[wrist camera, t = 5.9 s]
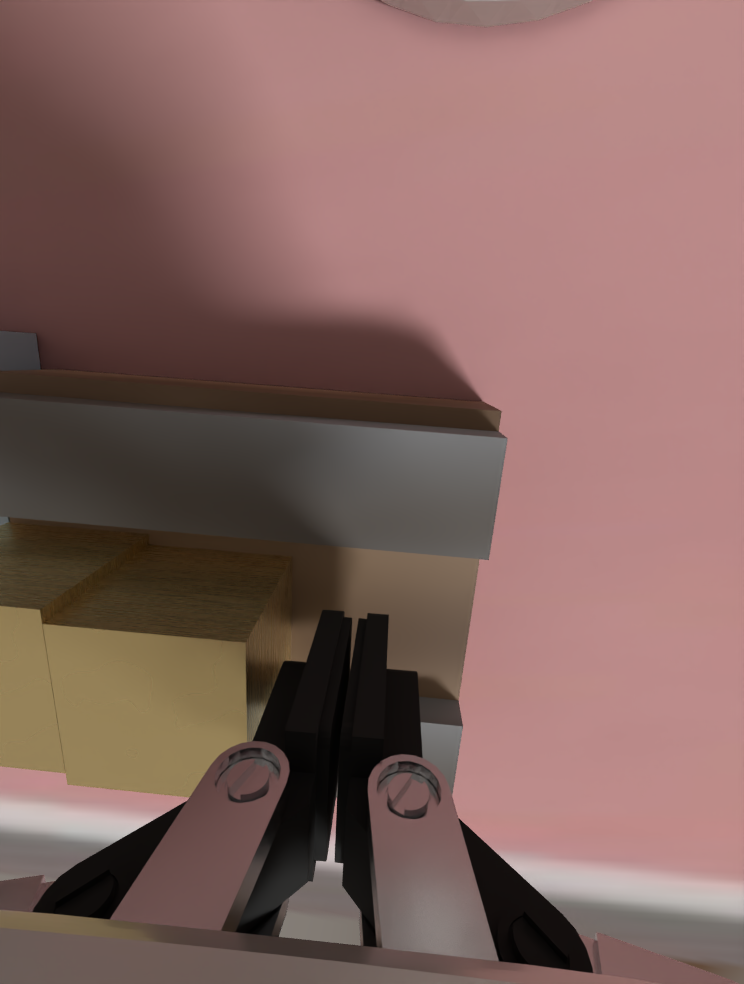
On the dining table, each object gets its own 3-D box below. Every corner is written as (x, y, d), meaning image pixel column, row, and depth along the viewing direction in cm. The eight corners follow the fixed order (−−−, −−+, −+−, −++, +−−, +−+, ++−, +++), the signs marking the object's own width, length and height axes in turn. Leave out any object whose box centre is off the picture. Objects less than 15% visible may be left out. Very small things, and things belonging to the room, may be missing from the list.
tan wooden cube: (8, 522, 13) (-159, 591, 9) (148, 533, 13) (39, 609, 9) (29, 645, 14) (-111, 754, 10) (158, 658, 14) (65, 773, 10)
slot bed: (56, 369, 14) (-52, 372, 11) (483, 401, 14) (510, 416, 10) (95, 695, 17) (23, 776, 14) (438, 730, 17) (447, 822, 14)
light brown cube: (149, 544, 13) (42, 623, 9) (292, 556, 13) (245, 642, 9) (159, 666, 14) (67, 784, 10) (290, 679, 14) (247, 803, 10)
